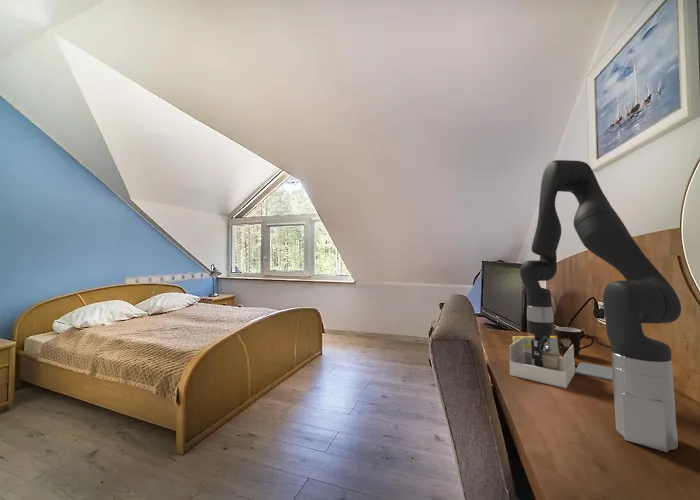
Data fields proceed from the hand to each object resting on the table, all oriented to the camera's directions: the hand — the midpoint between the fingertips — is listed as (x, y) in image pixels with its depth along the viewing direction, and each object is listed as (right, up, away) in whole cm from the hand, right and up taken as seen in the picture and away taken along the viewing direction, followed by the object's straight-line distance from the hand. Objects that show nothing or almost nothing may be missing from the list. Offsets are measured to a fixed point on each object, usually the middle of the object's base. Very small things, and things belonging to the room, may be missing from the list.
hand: (542, 368), depth 97 cm
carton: (0, -2, 0) cm, 2 cm away
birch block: (0, -2, 0) cm, 2 cm away
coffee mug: (+24, -3, +18) cm, 30 cm away
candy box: (+9, -3, +17) cm, 19 cm away
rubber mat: (+20, -2, 0) cm, 20 cm away
